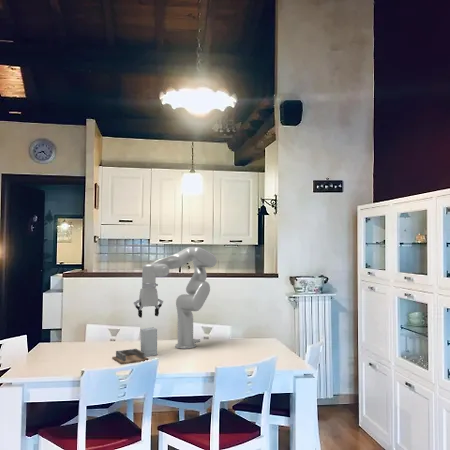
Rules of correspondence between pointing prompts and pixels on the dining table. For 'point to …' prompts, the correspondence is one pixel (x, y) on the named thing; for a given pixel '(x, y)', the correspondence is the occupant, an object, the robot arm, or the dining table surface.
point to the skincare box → (149, 341)
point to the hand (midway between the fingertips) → (148, 316)
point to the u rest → (129, 356)
